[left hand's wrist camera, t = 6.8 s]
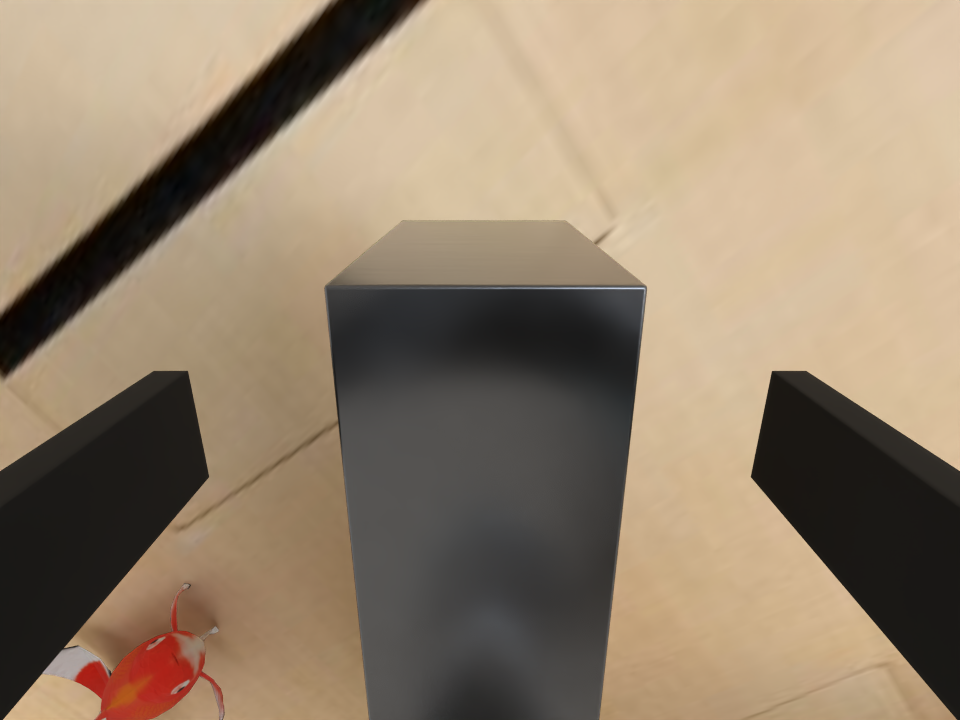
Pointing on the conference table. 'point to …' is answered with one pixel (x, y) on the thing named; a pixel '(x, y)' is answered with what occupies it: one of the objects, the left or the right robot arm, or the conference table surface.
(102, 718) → the fish
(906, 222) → the conference table surface
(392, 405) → the bar
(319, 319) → the conference table surface
